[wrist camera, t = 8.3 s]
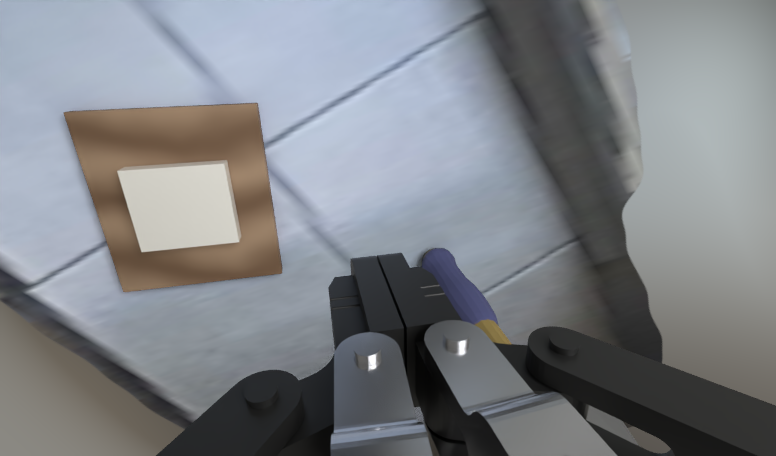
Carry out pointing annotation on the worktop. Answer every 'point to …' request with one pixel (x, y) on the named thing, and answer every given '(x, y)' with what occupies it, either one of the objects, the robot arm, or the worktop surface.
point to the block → (181, 204)
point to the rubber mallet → (492, 320)
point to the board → (169, 146)
